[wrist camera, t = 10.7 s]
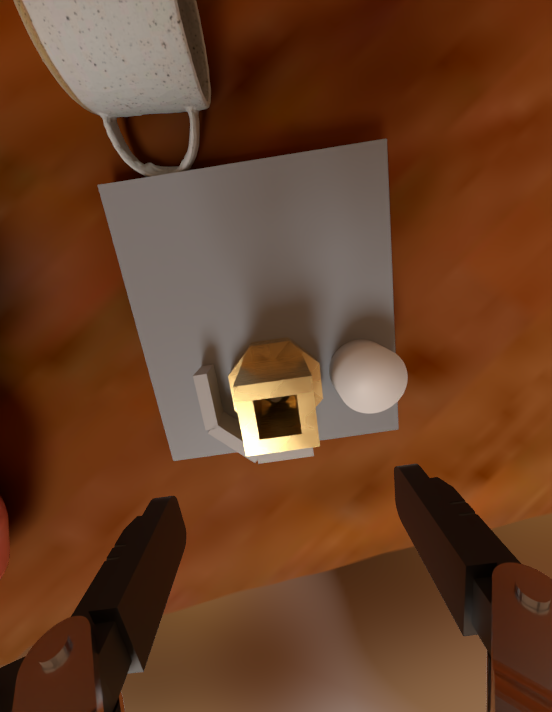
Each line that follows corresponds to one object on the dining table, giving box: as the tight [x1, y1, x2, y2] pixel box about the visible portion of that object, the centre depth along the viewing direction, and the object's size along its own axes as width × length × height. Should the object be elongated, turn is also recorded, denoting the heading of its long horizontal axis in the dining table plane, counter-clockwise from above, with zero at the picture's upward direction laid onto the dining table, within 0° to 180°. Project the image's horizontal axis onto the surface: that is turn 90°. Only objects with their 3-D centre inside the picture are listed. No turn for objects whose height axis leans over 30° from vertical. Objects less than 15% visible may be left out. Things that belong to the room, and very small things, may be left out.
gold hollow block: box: [228, 337, 323, 456], centre depth 19 cm, size 7×7×6 cm
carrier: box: [98, 139, 408, 464], centre depth 21 cm, size 20×22×6 cm
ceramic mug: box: [14, 0, 211, 177], centre depth 16 cm, size 11×8×8 cm
